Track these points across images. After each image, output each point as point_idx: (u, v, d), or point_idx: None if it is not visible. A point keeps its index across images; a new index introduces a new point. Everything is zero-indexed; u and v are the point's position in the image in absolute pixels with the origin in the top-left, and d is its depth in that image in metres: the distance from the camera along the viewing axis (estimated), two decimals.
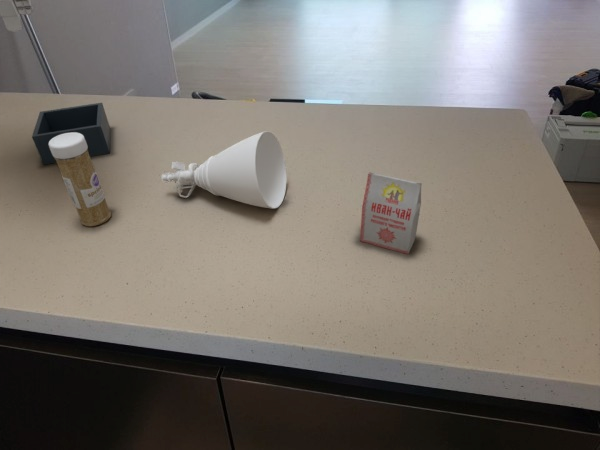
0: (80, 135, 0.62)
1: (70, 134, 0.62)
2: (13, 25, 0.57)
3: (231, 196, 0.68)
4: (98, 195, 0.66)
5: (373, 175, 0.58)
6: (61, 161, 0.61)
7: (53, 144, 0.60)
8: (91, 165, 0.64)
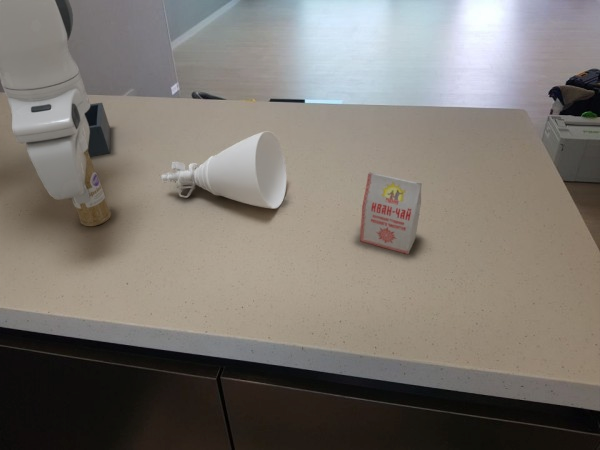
0: (80, 135, 0.62)
1: None
2: (82, 199, 0.63)
3: (231, 196, 0.68)
4: (98, 195, 0.66)
5: (373, 175, 0.58)
6: None
7: None
8: (91, 165, 0.64)
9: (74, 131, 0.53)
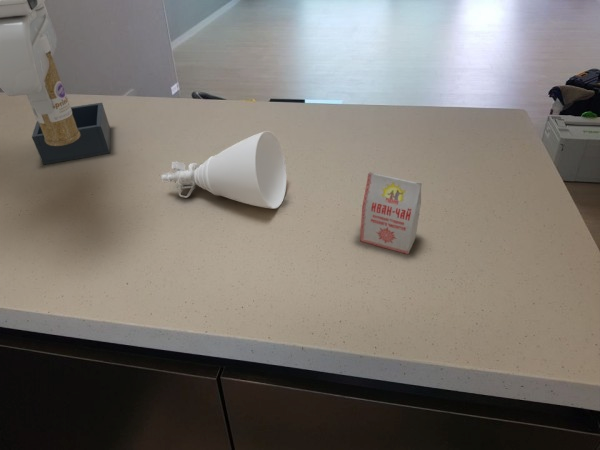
0: (42, 34, 0.54)
1: None
2: (44, 108, 0.56)
3: (231, 196, 0.68)
4: (64, 109, 0.58)
5: (373, 175, 0.58)
6: None
7: None
8: (55, 71, 0.56)
9: (27, 9, 0.45)
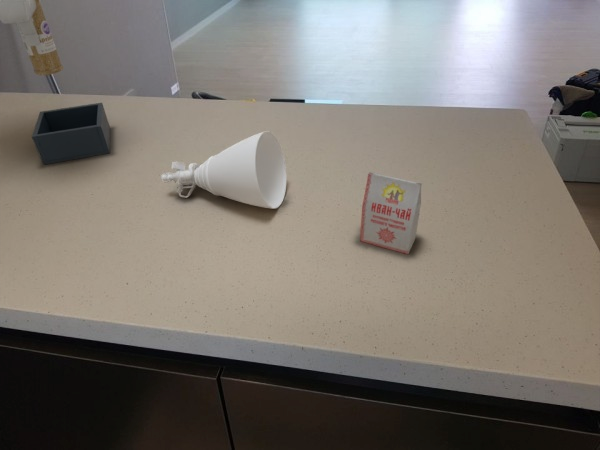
0: None
1: None
2: (33, 41, 0.70)
3: (231, 196, 0.68)
4: (49, 44, 0.73)
5: (373, 175, 0.58)
6: None
7: None
8: (41, 12, 0.71)
9: None
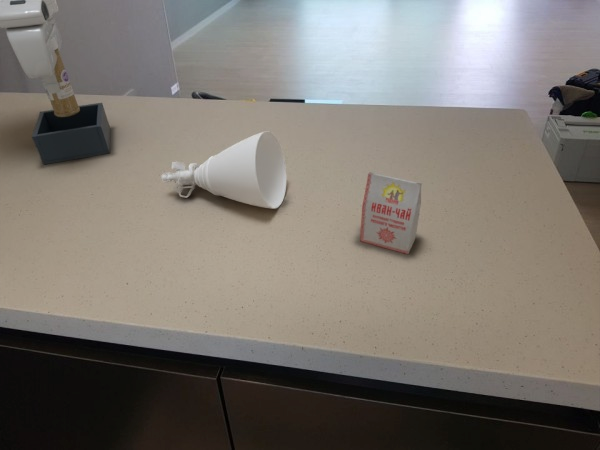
0: (52, 36, 0.78)
1: None
2: (54, 89, 0.79)
3: (231, 196, 0.68)
4: (68, 90, 0.82)
5: (373, 175, 0.58)
6: None
7: None
8: (61, 63, 0.80)
9: (43, 20, 0.68)
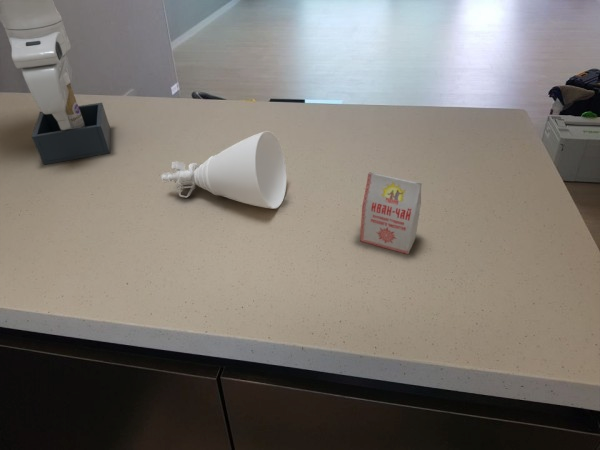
0: (64, 71, 0.81)
1: None
2: (65, 125, 0.81)
3: (231, 196, 0.68)
4: (79, 121, 0.85)
5: (373, 175, 0.58)
6: None
7: None
8: (73, 96, 0.83)
9: (57, 60, 0.72)
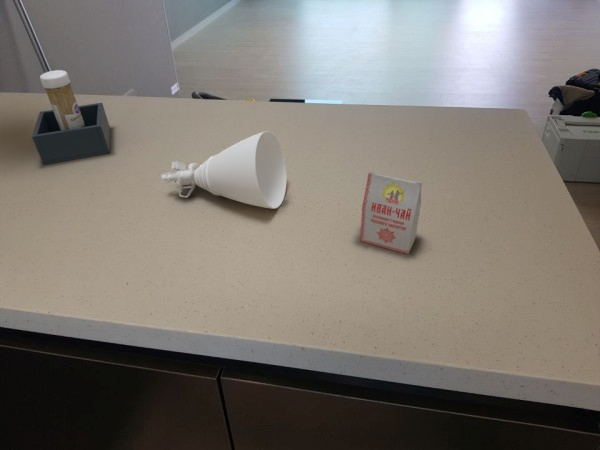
0: (64, 71, 0.81)
1: (56, 71, 0.82)
2: None
3: (231, 196, 0.68)
4: (79, 121, 0.85)
5: (373, 175, 0.58)
6: (49, 90, 0.80)
7: (43, 76, 0.79)
8: (73, 96, 0.83)
9: None
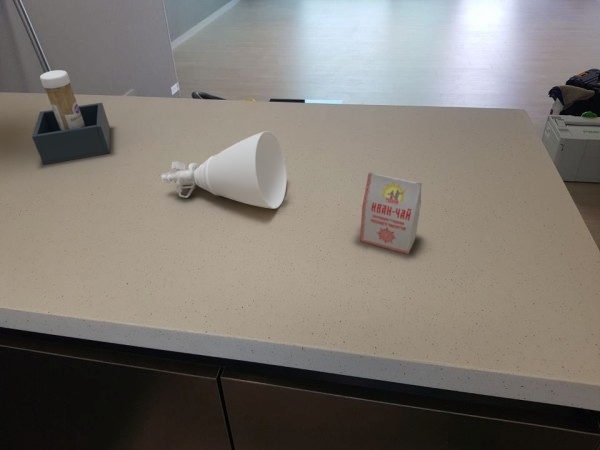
0: (64, 71, 0.81)
1: (56, 71, 0.82)
2: None
3: (231, 196, 0.68)
4: (79, 121, 0.85)
5: (373, 175, 0.58)
6: (49, 90, 0.80)
7: (43, 76, 0.79)
8: (73, 96, 0.83)
9: None
